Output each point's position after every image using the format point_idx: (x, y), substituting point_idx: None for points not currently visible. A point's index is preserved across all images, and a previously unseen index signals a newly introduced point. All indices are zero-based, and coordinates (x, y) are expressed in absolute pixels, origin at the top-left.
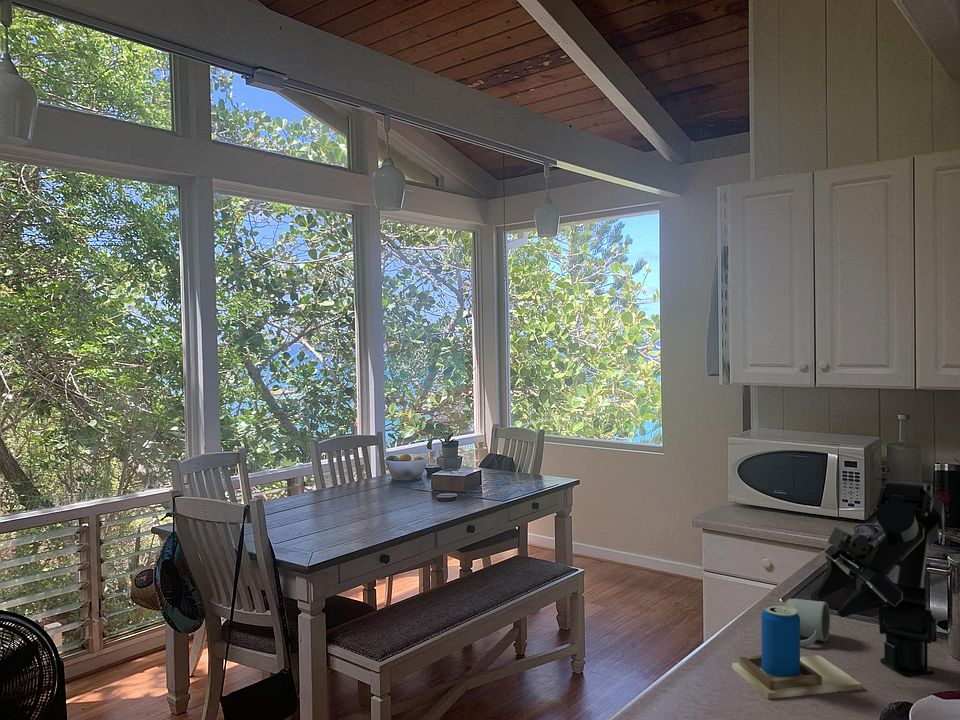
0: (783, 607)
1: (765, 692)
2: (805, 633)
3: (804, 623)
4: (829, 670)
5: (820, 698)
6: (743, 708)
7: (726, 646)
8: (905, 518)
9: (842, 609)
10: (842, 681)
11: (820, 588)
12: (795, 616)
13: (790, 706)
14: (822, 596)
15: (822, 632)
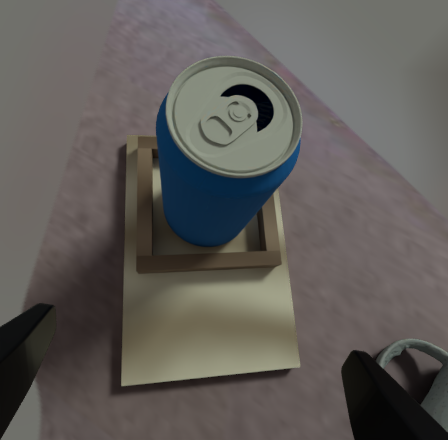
0: (269, 147)
1: (136, 136)
2: (424, 399)
3: (445, 402)
4: (210, 342)
5: (105, 250)
6: (104, 83)
7: (373, 185)
8: None
9: (4, 325)
10: (144, 339)
11: (383, 388)
12: (175, 148)
13: (88, 168)
14: (348, 388)
15: None
